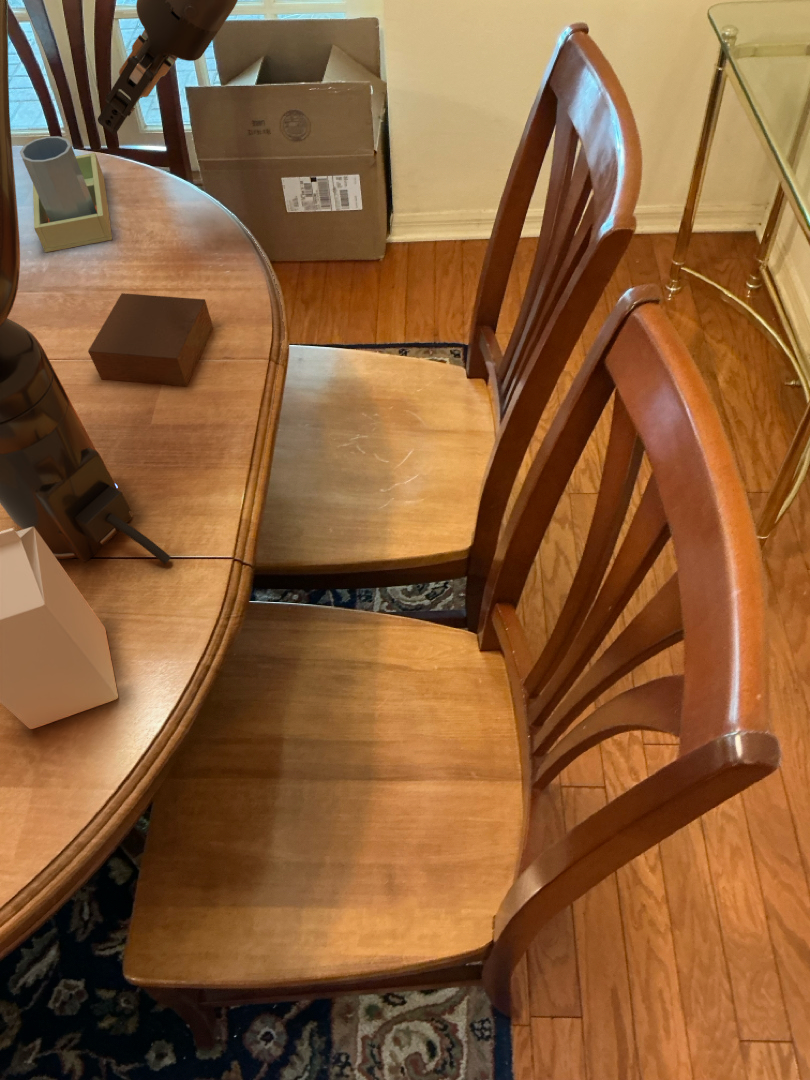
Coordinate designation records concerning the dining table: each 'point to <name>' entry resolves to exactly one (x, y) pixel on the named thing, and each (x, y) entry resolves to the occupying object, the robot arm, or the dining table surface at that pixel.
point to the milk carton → (47, 637)
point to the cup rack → (79, 227)
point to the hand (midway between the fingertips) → (120, 108)
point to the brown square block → (152, 339)
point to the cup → (57, 178)
